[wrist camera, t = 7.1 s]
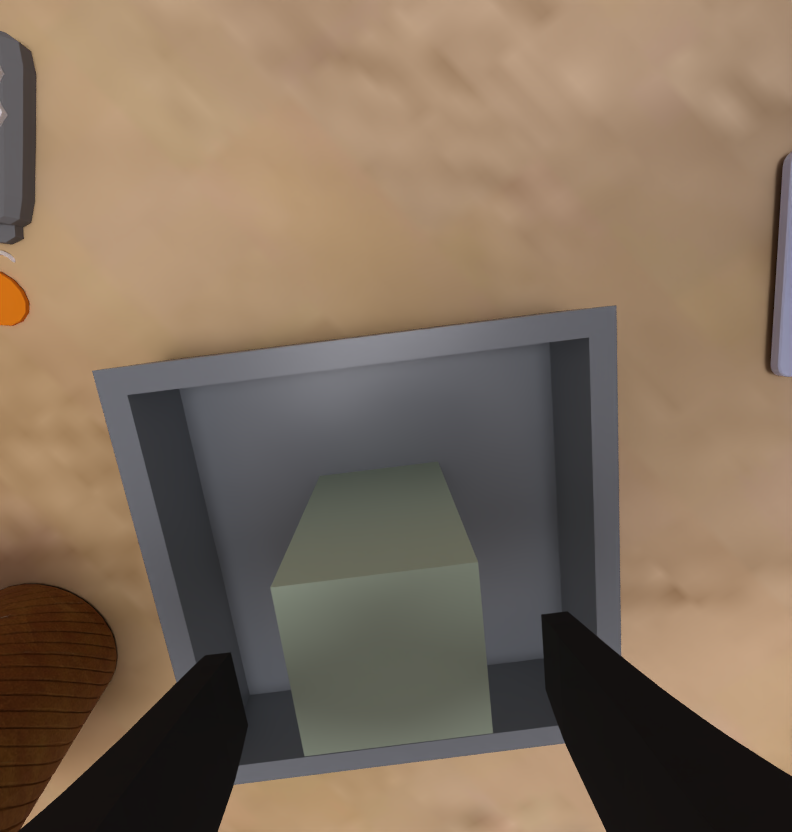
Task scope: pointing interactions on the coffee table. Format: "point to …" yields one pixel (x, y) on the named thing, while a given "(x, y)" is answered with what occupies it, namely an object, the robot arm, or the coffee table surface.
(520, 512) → the tray
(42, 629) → the disposable coffee cup
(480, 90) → the coffee table surface
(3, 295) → the key chain
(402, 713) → the block
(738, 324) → the coffee table surface
